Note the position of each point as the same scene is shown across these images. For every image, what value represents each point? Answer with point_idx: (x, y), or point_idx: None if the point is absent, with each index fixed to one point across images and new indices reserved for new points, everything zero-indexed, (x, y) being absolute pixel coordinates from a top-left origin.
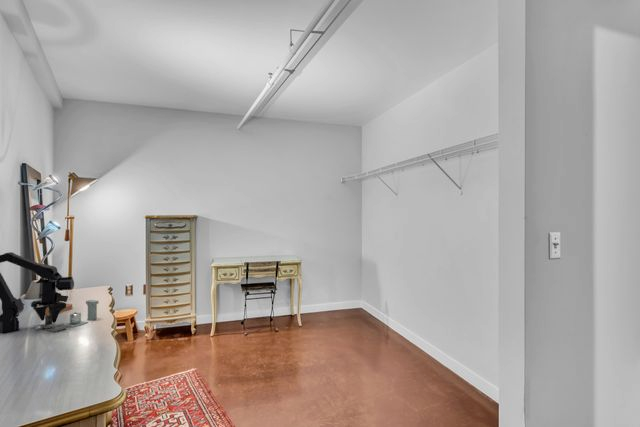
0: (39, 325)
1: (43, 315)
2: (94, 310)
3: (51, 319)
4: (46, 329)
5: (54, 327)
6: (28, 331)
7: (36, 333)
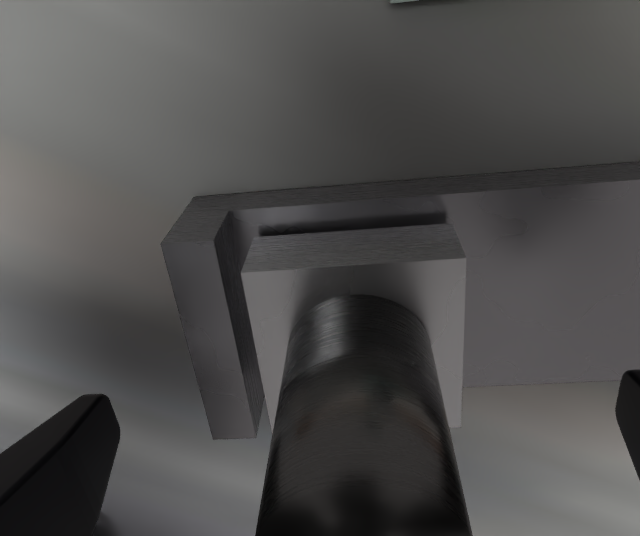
0: (235, 435)
1: (34, 524)
2: None
3: (441, 411)
4: (476, 386)
5: (503, 261)
6: (176, 459)
7: None
